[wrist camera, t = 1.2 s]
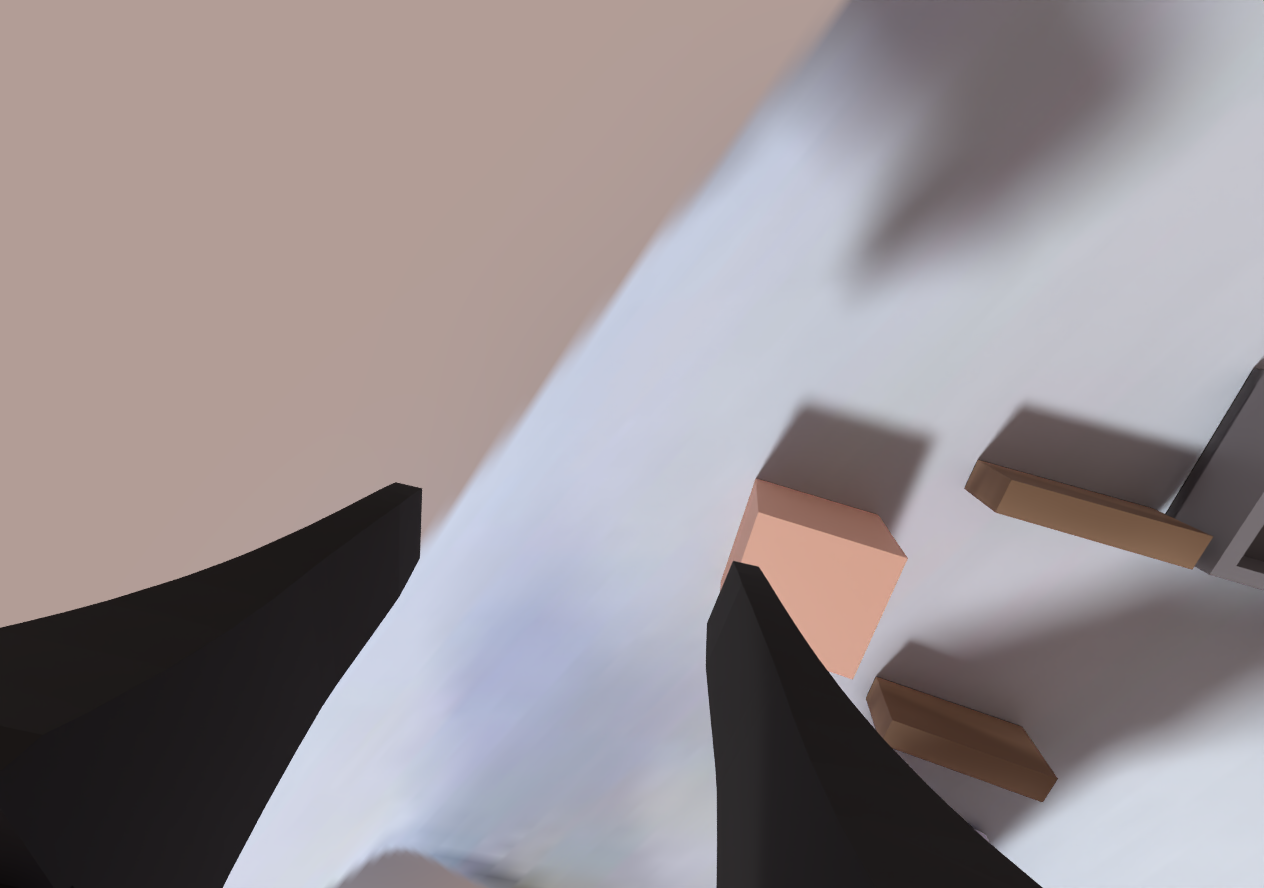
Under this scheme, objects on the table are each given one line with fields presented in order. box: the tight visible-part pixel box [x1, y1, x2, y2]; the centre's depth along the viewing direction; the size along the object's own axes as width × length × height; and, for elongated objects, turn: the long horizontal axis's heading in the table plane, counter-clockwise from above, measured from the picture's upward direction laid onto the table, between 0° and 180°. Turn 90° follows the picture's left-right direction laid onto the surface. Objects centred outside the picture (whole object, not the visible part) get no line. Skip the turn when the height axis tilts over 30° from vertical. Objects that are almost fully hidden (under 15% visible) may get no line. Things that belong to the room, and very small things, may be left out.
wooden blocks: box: [866, 460, 1213, 802], centre depth 19 cm, size 11×6×2 cm, turn 166°
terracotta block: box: [720, 478, 908, 679], centre depth 20 cm, size 5×5×4 cm
